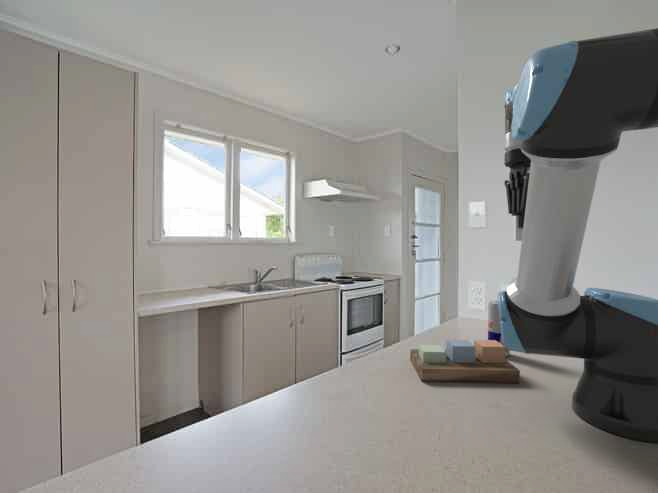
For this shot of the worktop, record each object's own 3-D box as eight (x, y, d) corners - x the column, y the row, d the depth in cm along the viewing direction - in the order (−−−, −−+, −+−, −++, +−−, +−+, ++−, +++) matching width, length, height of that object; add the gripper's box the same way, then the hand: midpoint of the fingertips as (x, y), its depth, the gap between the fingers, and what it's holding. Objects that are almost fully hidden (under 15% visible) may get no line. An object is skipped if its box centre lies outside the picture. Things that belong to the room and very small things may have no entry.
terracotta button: (505, 363, 83) (505, 346, 83) (482, 363, 83) (482, 346, 83) (495, 355, 88) (495, 340, 88) (473, 355, 89) (474, 339, 88)
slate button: (475, 362, 83) (475, 346, 83) (452, 362, 84) (452, 346, 83) (467, 355, 89) (467, 339, 89) (446, 355, 89) (446, 339, 89)
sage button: (445, 368, 84) (445, 352, 84) (423, 368, 84) (423, 351, 84) (439, 360, 89) (439, 345, 89) (418, 360, 89) (418, 344, 89)
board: (519, 383, 79) (519, 370, 79) (421, 381, 80) (421, 368, 80) (493, 361, 93) (493, 350, 93) (410, 360, 94) (410, 349, 94)
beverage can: (504, 351, 101) (505, 300, 101) (513, 357, 95) (513, 303, 95) (484, 350, 101) (485, 299, 101) (491, 357, 96) (492, 303, 96)
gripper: (550, 142, 83) (548, 240, 84) (522, 155, 96) (521, 240, 97) (518, 143, 84) (517, 240, 84) (495, 156, 97) (494, 240, 97)
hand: (519, 240), depth 91 cm, fingers closed
